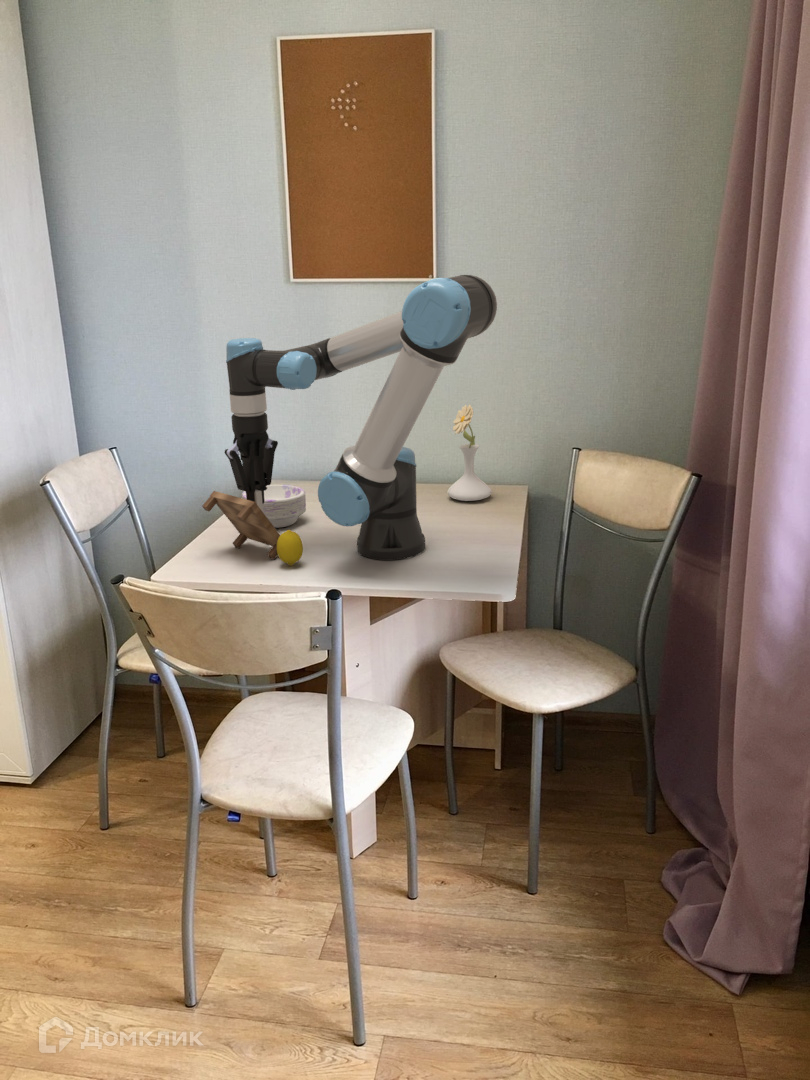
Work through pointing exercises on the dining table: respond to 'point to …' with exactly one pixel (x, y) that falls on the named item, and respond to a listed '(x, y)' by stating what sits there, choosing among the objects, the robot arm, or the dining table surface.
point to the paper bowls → (283, 504)
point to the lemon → (289, 547)
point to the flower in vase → (468, 463)
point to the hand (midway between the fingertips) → (257, 519)
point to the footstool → (245, 520)
